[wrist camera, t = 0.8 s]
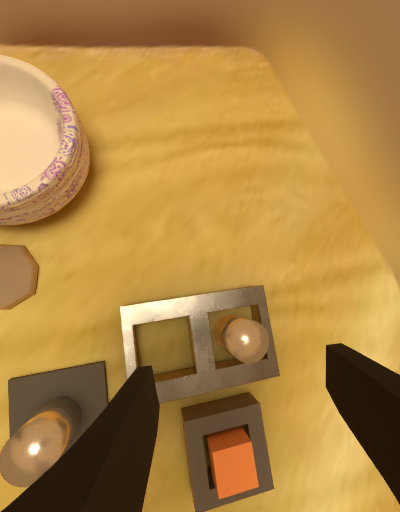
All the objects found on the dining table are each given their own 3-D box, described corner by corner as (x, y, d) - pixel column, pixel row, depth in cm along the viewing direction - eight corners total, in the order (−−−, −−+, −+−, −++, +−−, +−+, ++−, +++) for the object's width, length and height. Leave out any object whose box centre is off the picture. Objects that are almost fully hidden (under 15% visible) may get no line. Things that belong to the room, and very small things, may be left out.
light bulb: (249, 346, 29) (272, 358, 23) (217, 352, 28) (233, 367, 23) (243, 312, 30) (264, 316, 24) (212, 318, 29) (226, 323, 23)
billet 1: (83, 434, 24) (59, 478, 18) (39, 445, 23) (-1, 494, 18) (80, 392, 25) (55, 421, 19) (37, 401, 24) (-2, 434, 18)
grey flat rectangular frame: (269, 369, 29) (279, 375, 27) (132, 399, 26) (130, 410, 24) (254, 286, 30) (263, 285, 28) (123, 306, 27) (120, 306, 25)
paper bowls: (-41, 109, 28) (-117, 38, 20) (97, 116, 31) (77, 56, 23) (-53, 236, 26) (-143, 210, 18) (98, 232, 28) (76, 208, 21)
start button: (247, 464, 25) (258, 486, 22) (211, 475, 24) (218, 499, 21) (240, 425, 26) (251, 441, 23) (206, 434, 25) (212, 452, 22)
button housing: (261, 468, 27) (274, 488, 24) (191, 489, 26) (195, 514, 23) (249, 392, 28) (259, 403, 25) (181, 408, 27) (184, 422, 24)
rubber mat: (112, 451, 25) (111, 455, 24) (14, 476, 23) (11, 481, 23) (104, 360, 26) (103, 362, 26) (11, 378, 25) (8, 380, 24)
